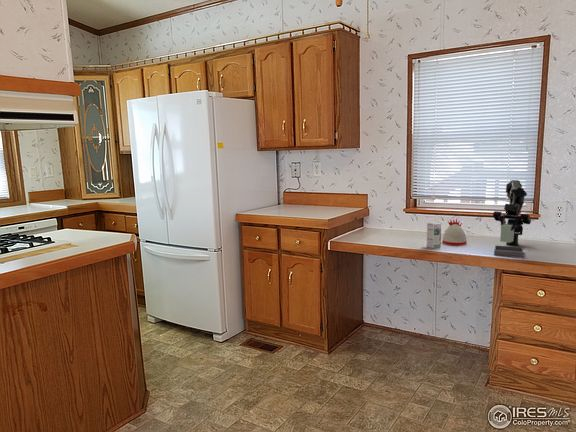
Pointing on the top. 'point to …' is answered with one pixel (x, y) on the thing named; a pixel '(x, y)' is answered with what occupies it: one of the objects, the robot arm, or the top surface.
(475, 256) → the top surface
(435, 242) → the syrup box
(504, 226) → the sage block
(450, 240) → the cream dome with spikes
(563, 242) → the top surface
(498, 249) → the tray
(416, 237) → the top surface
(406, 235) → the top surface
